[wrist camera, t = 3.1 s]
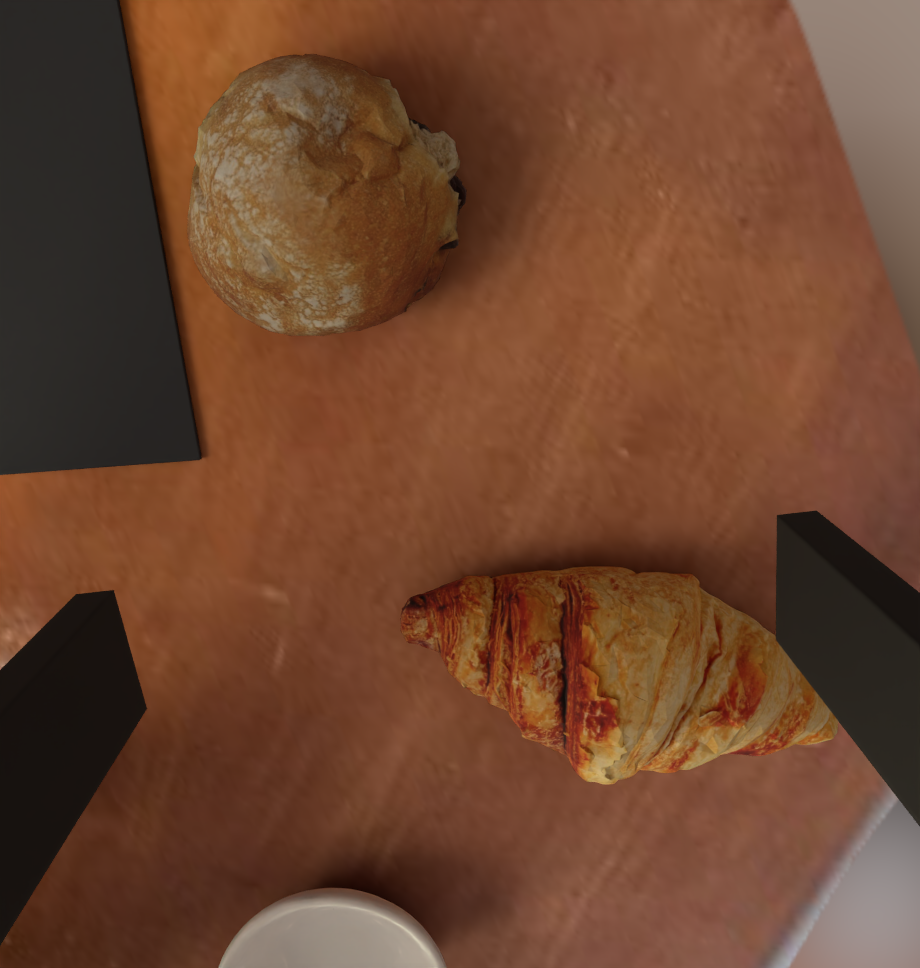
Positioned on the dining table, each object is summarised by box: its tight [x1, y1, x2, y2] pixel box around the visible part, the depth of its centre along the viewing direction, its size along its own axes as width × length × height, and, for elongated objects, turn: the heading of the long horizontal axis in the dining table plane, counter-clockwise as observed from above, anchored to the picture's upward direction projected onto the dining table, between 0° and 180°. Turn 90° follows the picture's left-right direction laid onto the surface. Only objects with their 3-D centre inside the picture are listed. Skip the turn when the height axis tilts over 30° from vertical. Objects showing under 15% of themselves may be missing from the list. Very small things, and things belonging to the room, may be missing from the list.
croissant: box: [401, 566, 838, 784], centre depth 36 cm, size 21×10×8 cm
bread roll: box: [188, 54, 466, 336], centre depth 30 cm, size 10×10×8 cm
